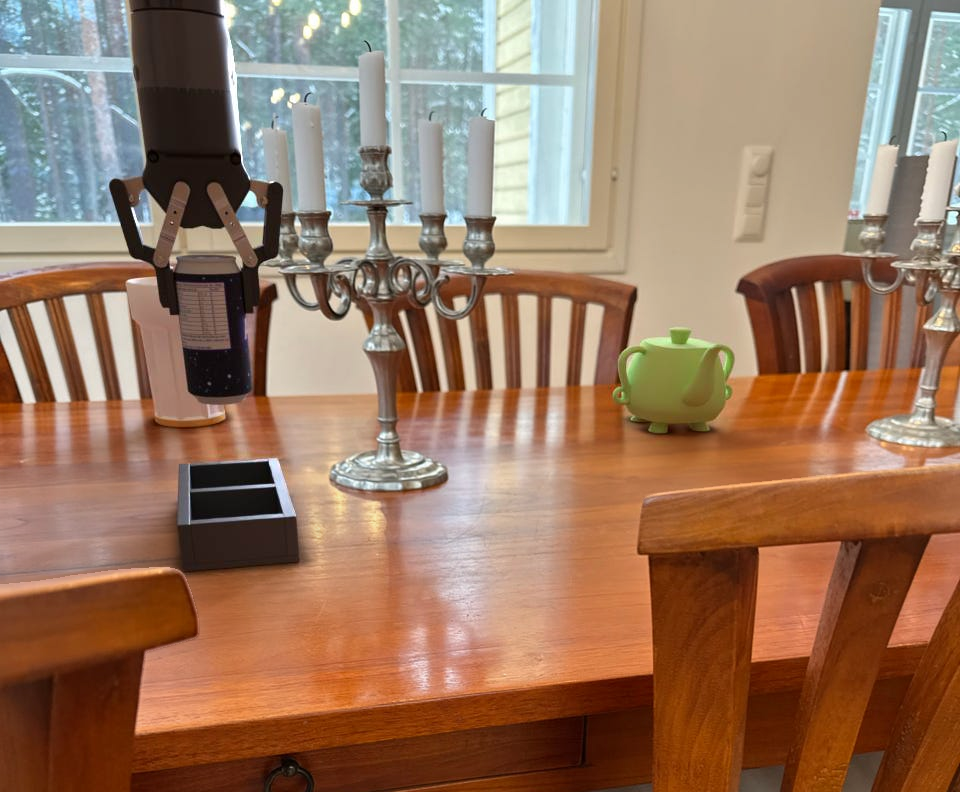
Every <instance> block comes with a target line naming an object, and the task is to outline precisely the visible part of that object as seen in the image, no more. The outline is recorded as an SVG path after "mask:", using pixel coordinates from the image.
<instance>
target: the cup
mask: <svg viewBox="0 0 960 792" xmlns="http://www.w3.org/2000/svg"><path fill="white" fill-rule="evenodd" d="M125 288H126V293H127V294H126V295H127V299H128V304H129V309H130V315H131V319H132V320H133V321H135V323H136V324H137V325H138V326H139V328H140V335H141V340H142V346H143V352H144V355H145V356H144V357H145V358H144V359H145V363H146V368H147V375H148V379H149V385H150V392H151V397H152V403H153V408H154V414H153V415H154V422H155V423H157V425H160V426H165V427H170V428H198V427H205V426H206V427H207V426H211V425H215V424H219V423H221V422H222V421H225V420H226V412H225V411H226V410H225V405H210V404H203V403H200V402H198V400H197V398H195V397H194V396H193V395H191V394H190V393H189V392H188V388H187V380H186V372H185V364H184V356H183V348H182V340H181V332H180V324H179V316H178V315H170V312H169V308H163V307H162V305H161V303H160V300H159V293H158V286H157V278H156V276H147V277H146V276H144V277H137V278H130V279H127V280H125Z"/></svg>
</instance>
